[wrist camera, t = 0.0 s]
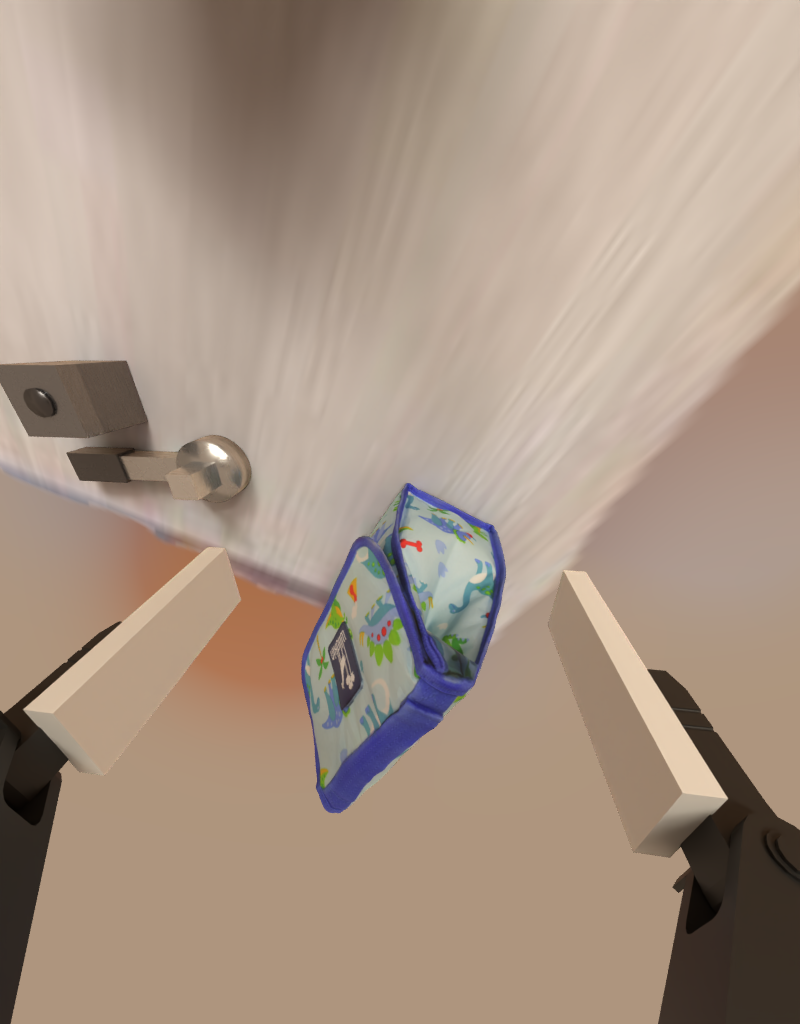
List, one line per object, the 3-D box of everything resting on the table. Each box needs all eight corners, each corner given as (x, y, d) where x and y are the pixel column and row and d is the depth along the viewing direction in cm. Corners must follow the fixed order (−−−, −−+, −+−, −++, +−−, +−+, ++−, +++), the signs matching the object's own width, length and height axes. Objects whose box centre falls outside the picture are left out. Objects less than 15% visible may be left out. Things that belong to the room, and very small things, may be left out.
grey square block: (72, 360, 39) (-14, 364, 31) (126, 360, 38) (51, 365, 31) (98, 420, 42) (25, 436, 35) (147, 421, 41) (84, 438, 34)
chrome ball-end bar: (79, 431, 43) (13, 447, 36) (243, 435, 41) (205, 454, 34) (105, 486, 47) (49, 510, 40) (256, 494, 44) (224, 520, 38)
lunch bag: (386, 467, 40) (316, 631, 18) (502, 521, 42) (576, 736, 19) (331, 587, 51) (240, 789, 28) (426, 627, 52) (414, 849, 30)
